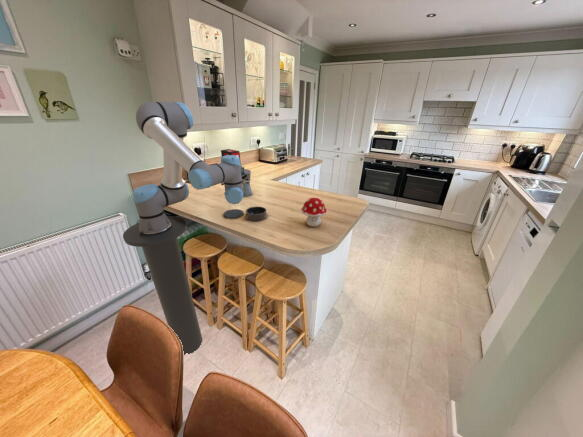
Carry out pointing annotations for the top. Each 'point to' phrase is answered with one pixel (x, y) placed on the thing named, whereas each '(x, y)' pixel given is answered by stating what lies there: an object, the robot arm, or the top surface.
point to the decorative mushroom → (314, 211)
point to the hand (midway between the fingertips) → (235, 173)
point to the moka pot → (247, 186)
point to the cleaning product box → (230, 153)
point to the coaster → (233, 213)
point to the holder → (256, 213)
